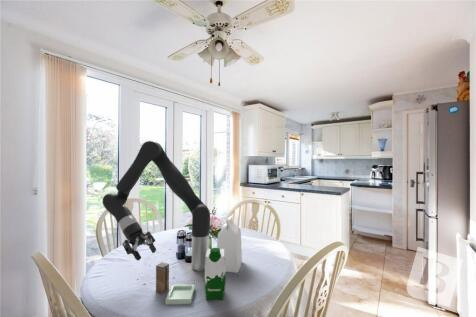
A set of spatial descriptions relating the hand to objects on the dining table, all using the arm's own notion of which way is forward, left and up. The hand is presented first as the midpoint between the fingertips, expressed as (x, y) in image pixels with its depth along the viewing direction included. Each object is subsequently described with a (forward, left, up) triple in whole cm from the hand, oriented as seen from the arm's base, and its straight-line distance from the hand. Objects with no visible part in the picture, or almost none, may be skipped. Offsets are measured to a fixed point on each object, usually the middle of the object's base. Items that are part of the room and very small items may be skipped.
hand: (147, 255), depth 99 cm
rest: (-11, +15, -14) cm, 23 cm away
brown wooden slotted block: (-5, +7, -14) cm, 16 cm away
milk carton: (-24, +21, -14) cm, 35 cm away
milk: (-41, +2, -14) cm, 44 cm away
